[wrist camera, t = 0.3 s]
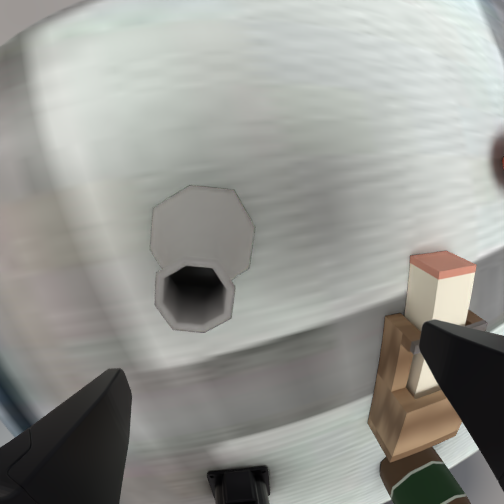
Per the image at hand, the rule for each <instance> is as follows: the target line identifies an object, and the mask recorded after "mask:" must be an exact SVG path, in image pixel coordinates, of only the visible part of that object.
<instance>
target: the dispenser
mask: <svg viewBox="0 0 504 504" xmlns="http://www.w3.org/2000/svg"><path fill="white" fill-rule="evenodd" d="M487 324H488V323H487V322H486V321H484V320H483V319H482V318H480V317H479V316H477V315H476V314H474V313H473V312H471V311H470V310H468V313H467V318H466V323H465V327H469V328H473V329H477V330H481V331H486V328H487ZM420 336H421V331H420V330H419V329H418V328H416V327H415V326H414V325H413V324H412V323H411V322H410V321H409V320H407V319H406V318H405V317H404V316H403V315H402V314H401V313H398V314H393V315H388V316H385V323H384V331H383V339H382V346H381V353H380V360H379V366H378V372H377V378H376V383H375V389H374V394H373V399H372V404H371V409H370V414H369V419H368V425H369V427H370V428H371V430H372V432H373V434H374V435H375V437H376V439H377V441H378V442H379V444H380V446H381V448H382V450H383V451H384V453H385V455H386V457H387V458H388V460H389V462H390V463H391V462H393V461H396V460H399V459H402V458H404V457H407V456H410V455H412V454H415V453H417V452H420V451H422V450H425V449H427V448H429V447H432V446H434V445H436V444H439V443H441V442H443V441H445V440H447V439H450V438H452V437H454V436H456V434H457V432H458V429H459V427H460V425H461V423H462V421H461V419H460V418H459V416H458V414H457V413H456V411H455V410H454V408H453V407H452V405H451V404H450V402H449V401H448V399H447V398H446V396H445V395H444V393H443V392H442V390H440V391H437V392H434V393H432V394H429V395H426V396H423V397H421V398H418V399H415V398H414V397H413V396H412V394H411V393H410V392H409V391H408V389H407V388H406V385H407V380H408V376H409V372H410V367H411V363H412V358H413V354H414V355H415V354H418V353H421V352H420V349H419V342H420Z"/></svg>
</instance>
